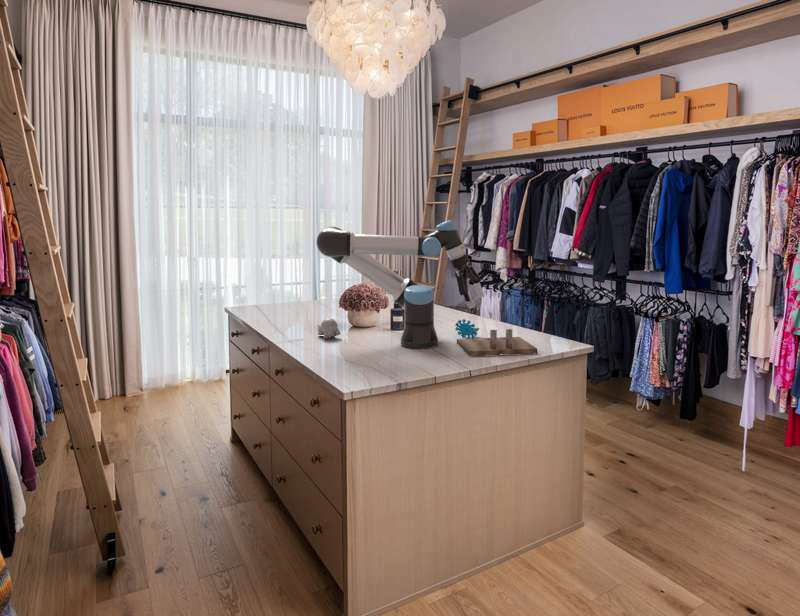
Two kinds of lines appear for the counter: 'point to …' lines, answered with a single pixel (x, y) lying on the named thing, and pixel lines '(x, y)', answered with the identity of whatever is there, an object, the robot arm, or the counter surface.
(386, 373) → the counter surface
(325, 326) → the chubby cartoon animal
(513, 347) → the dowel plate
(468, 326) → the gear
